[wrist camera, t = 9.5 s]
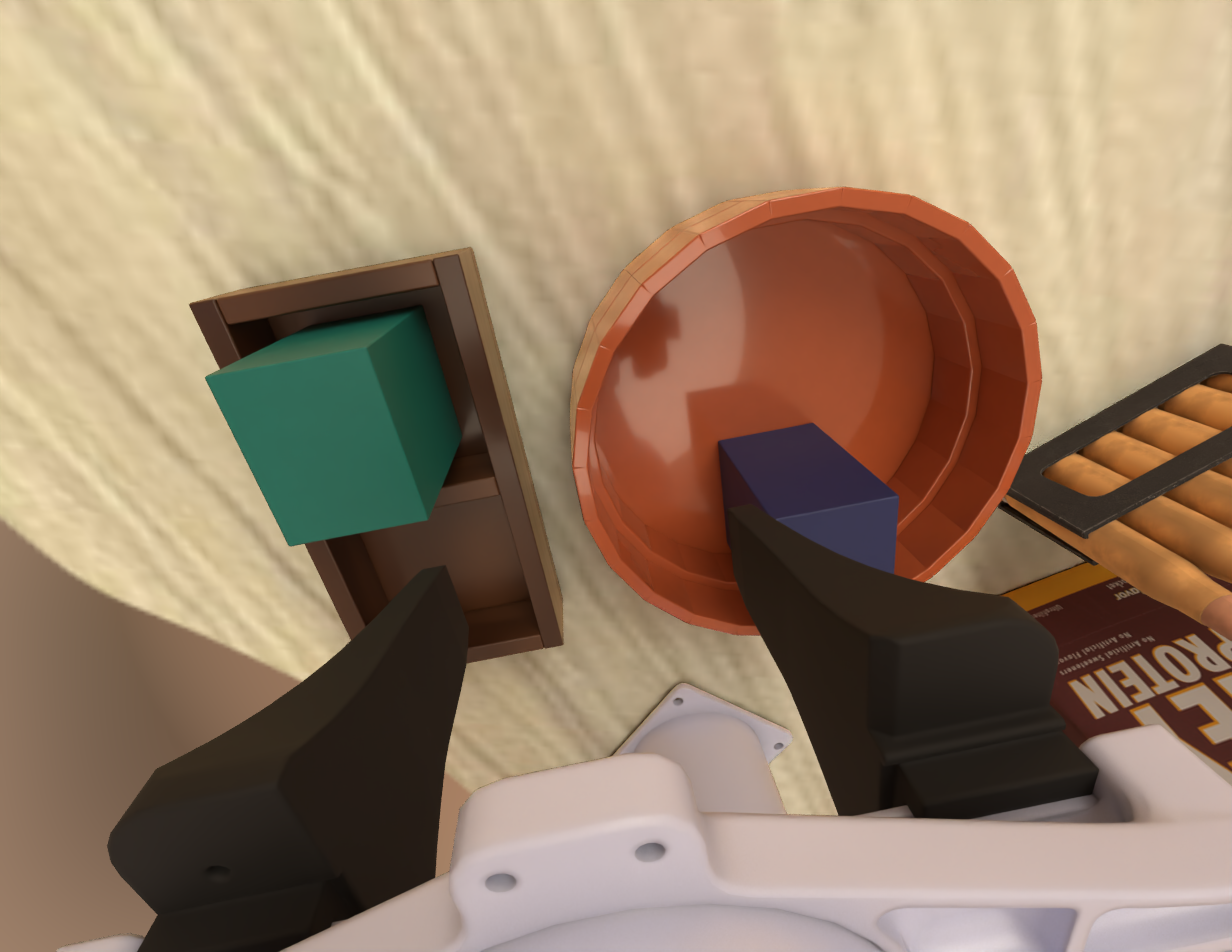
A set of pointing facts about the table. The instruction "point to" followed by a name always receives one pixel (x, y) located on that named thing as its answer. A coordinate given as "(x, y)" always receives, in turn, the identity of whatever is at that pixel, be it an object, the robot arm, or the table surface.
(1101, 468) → the ammunition clip
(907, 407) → the bowl
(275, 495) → the green rectangular block
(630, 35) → the table surface
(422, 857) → the robot arm
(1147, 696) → the supplement box
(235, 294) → the holder
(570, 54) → the table surface
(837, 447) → the dark blue rectangular block
